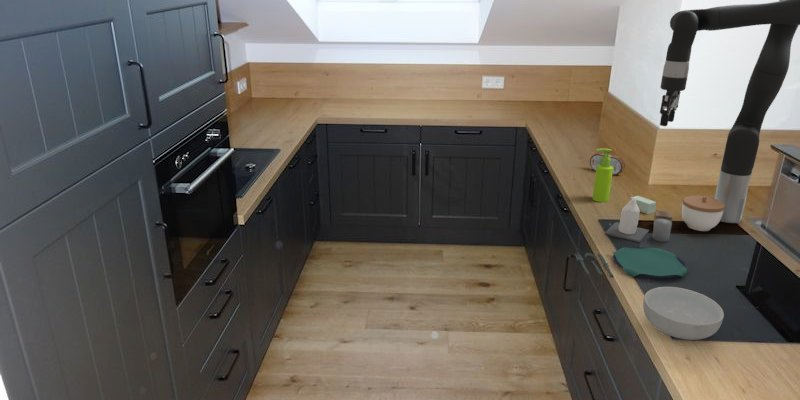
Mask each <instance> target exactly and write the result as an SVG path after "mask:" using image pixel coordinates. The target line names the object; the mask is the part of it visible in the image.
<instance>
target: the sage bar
mask: <svg viewBox="0 0 800 400" xmlns="http://www.w3.org/2000/svg"><path fill="white" fill-rule="evenodd" d="M633 198H636V204H637V205H638V208H639V210H640V212H641V213H644V214H646V215H650V214H653V213H655V212H656V208H657V207H656V206H657V202H656V201H655V200H652V199H648V198H646V197H644V196H643V197H642V196H640V195H635V196H634V195H633V196H631V197H630V198H629V201H631V199H633Z"/></svg>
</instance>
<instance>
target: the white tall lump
mask: <svg viewBox="0 0 800 400" xmlns="http://www.w3.org/2000/svg"><path fill="white" fill-rule="evenodd" d="M639 218H640V210H639V208H638V205H637V204H636V198H633V199H631V201H630V200H629V201H628V202H627V203H626V204H625V205H624V207H622V209H621V214H620V220H619V223H620V224H619V231H620V232H622V233H625V234H634V233H635V232H636V229H637V227H638V225H639Z"/></svg>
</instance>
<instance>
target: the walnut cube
mask: <svg viewBox="0 0 800 400" xmlns="http://www.w3.org/2000/svg"><path fill="white" fill-rule="evenodd" d="M656 219H667V220H670V221H671V222H672V221H673V212H672V211H671V212H670V211H663V210H656V209H655V212H654V217H653V224H654V223H655V220H656ZM672 223H673V222H672Z"/></svg>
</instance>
